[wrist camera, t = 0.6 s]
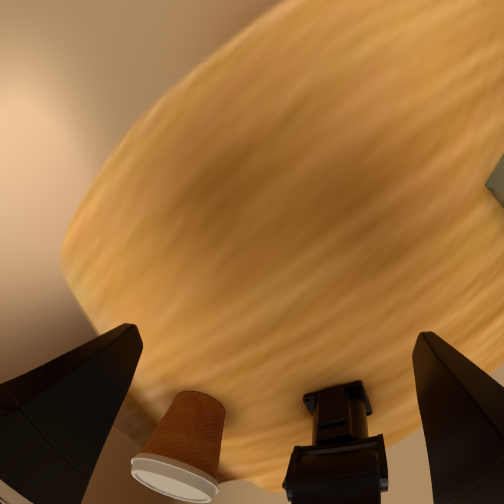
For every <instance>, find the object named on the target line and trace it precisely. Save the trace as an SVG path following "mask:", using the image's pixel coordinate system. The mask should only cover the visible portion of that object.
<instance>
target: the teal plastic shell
mask: <svg viewBox="0 0 504 504" xmlns="http://www.w3.org/2000/svg"><path fill="white" fill-rule="evenodd" d="M485 186H486V187H487V188H488V189H489V191H490V192H491V193H492V194H493V196H494V197H495V198H496V200H497V201H498V202H499V203H500V205H501V206H502V208H503V209H504V154H503V156H502V158H501V160H500V161H499V163H498V165H497V166H496V168H495V170H494V171H493V173H492V174H491V176H490V178H489V179H488V181H487V182H486V184H485Z"/></svg>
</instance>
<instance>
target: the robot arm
mask: <svg viewBox="0 0 504 504" xmlns="http://www.w3.org/2000/svg"><path fill="white" fill-rule="evenodd" d="M142 350H143V342H142V339H141V337H140V334H139V331H138V328H137V326H136V325H134V324H129V323H124V324H122V325H120V326H118V327H116V328H114V329H112V330H110V331H108V332H106V333H104V334H102V335H100V336H98V337H96V338H94V339H93V340H90V341H88V342H87V343H85V344H83V345H81V346H79V347H77V348H75V349H73V350H71V351H69V352H67V353H65V354H63V355H61V356H59V357H57V358H55V359H53V360H51V361H49V362H47V363H45V364H44V365H41V366H39V367H37V368H35V369H33V370H31V371H29V372H27V373H25V374H23V375H20V376H18V377H16V378H14V379H11V380H9V381H7V382H4V383H1V384H0V504H81V502H82V500H83V497H84V494H85V491H86V489H87V486H88V484H89V481H90V478H91V476H92V473H93V471H94V468H95V465H96V463H97V461H98V458H99V456H100V453H101V451H102V449H103V446H104V444H105V442H106V439H107V436H108V434H109V432H110V430H111V427H112V425H113V423H114V421H115V418H116V416H117V414H118V412H119V409H120V407H121V405H122V403H123V400H124V398H125V396H126V394H127V392H128V389H129V387H130V385H131V382H132V379H133V376H134V373H135V370H136V367H137V364H138V362H139V359H140V356H141V353H142ZM412 360H413V367H414V375H415V383H416V391H417V399H418V405H419V410H420V415H421V419H422V424H423V430H424V435H425V440H426V447H427V452H428V459H429V466H430V474H431V482H432V491H433V501H434V504H504V387H503V386H501V385H500V384H499V383H498V382H497V381H495V380H494V379H492V377H490V376H489V375H488V374H487V373H485V372H484V371H483V370H482V369H480V368H479V367H478V366H476V365H475V364H474V363H473V362H471V361H470V360H469V359H468V358H466V357H465V356H464V355H462V354H461V353H460V352H459V351H457V350H456V349H455V348H453V347H452V346H451V345H449V344H448V343H447V342H445V341H444V340H443V339H441V338H440V337H439V336H438V335H436V334H435V333H433V332H431V331H428V332H421V333H419V335H418V337H417V341H416V344H415V347H414V350H413V355H412ZM303 402H304V403H305V405H306V407H307V408H308V410H309V411H310V413H311V414H312V416H313V434H312V445H311V446H294V450H293V453H292V454H291V458H290V462H289V466H288V470H287V473H286V477H285V479H284V481H283V484H282V487H283V489H285V490H286V493H287V498H288V501H289V502H291V504H381V492H387V491H388V468H387V459H386V452H385V445H384V439H383V434H379V435H377V436H373V437H368V426H367V417H366V416H369V415H371V414H372V408H371V405H370V402H369V400H368V397H367V394H366V391H365V389H364V386H363V383H362V382H359V381H358V382H354V383H351V384H347V385H344V386H340V387H336V388H332V389H328V390H325V391H320V392H316V393H312V394H308V395H304V396H303Z"/></svg>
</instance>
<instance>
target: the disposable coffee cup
mask: <svg viewBox="0 0 504 504" xmlns="http://www.w3.org/2000/svg"><path fill="white" fill-rule="evenodd" d="M224 417H225V409H224V407H223V406H222V405H221V404H220V403H219V402H218V401H217V400H215V399H214V398H212V397H210V396H208V395H205V394H202V393H199V392H193V391H186V392H181V393H179V394H178V395H177V396H176V398H175V400H174V401H173V403H172V404H171V406H170V407H169V409H168V411H167V412H166V414H165V415H164V417H163V418H162V420H161V421H160V423H159V425H158V426H157V428H156V429H155V431H154V432H153V434H152V435H151V437H150V438H149V440H148V441H147V443H146V445H145V446H144V448H143V449H142V451H141V452H140V454H137V455H136V457H134V458H133V459H132V460H131V463H132V470H131V473H132V475H133V477H134V478H135V479H137V480H138V481H139V482H141V483H142V484H144V485H146V486H147V487H149V488H151V489H153V490H155V491H157V492H159V493H162V494H164V495H167V496H170V497H173V498H176V499H180V500H184V501H188V502H195V503H208V502H210V501H211V499H212V498H213V497H214V495H215V494H217V493H218V492H219V488H218V483H217V472H218V465H219V458H220V449H221V440H222V432H223V424H224Z"/></svg>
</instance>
